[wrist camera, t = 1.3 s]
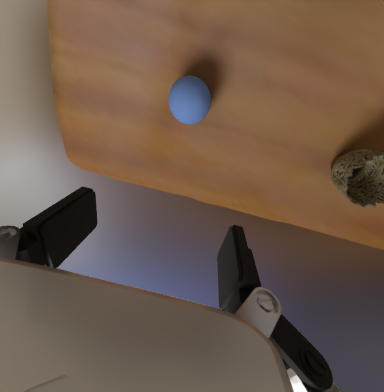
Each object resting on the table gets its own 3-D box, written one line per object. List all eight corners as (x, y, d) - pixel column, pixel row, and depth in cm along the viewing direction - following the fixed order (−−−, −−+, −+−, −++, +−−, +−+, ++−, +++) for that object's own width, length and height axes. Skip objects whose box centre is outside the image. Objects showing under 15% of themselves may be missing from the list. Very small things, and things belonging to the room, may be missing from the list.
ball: (214, 81, 25) (213, 75, 20) (208, 124, 28) (205, 129, 23) (175, 76, 25) (164, 69, 20) (173, 119, 28) (162, 123, 23)
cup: (307, 162, 28) (336, 181, 22) (355, 129, 25) (406, 139, 18) (329, 190, 30) (362, 216, 23) (376, 163, 27) (430, 184, 20)
